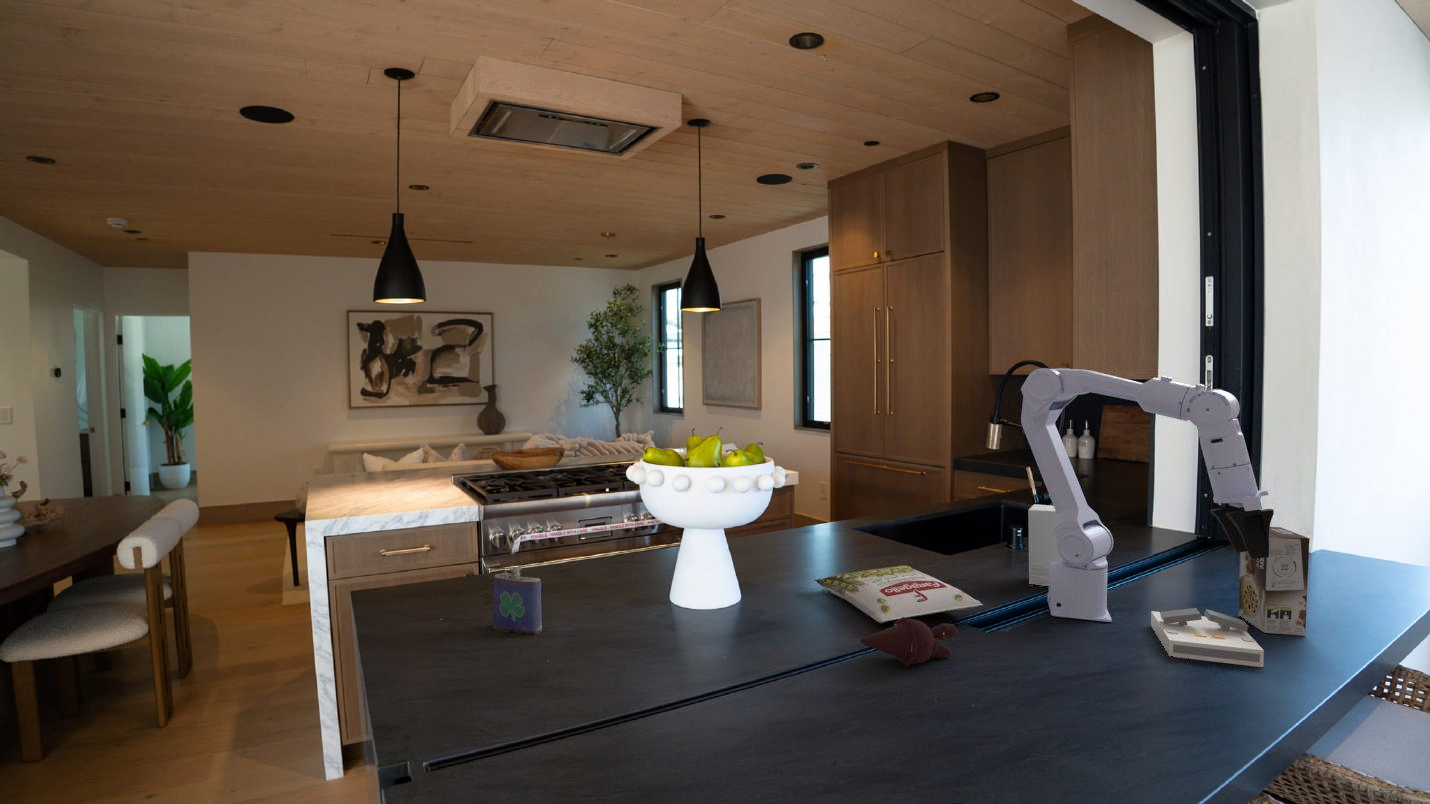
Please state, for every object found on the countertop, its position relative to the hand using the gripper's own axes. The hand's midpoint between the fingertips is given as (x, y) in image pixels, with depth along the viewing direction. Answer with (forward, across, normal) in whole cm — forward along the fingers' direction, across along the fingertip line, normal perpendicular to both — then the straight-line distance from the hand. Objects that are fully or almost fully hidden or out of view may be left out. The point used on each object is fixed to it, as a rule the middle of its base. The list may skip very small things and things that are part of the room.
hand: (1251, 554), depth 114 cm
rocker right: (+11, +4, +5) cm, 13 cm away
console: (+13, +3, +9) cm, 16 cm away
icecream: (+7, -20, +51) cm, 55 cm away
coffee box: (+15, +17, -4) cm, 23 cm away
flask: (-6, -28, +113) cm, 117 cm away
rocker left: (+10, +4, +11) cm, 15 cm away
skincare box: (+6, +30, +28) cm, 41 cm away
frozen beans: (+3, +6, +56) cm, 56 cm away
